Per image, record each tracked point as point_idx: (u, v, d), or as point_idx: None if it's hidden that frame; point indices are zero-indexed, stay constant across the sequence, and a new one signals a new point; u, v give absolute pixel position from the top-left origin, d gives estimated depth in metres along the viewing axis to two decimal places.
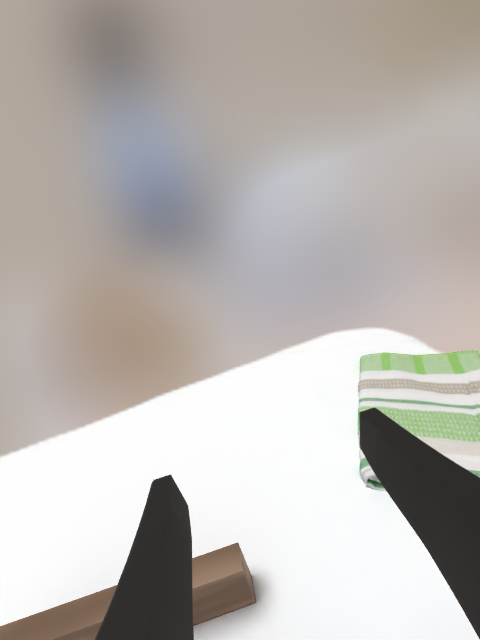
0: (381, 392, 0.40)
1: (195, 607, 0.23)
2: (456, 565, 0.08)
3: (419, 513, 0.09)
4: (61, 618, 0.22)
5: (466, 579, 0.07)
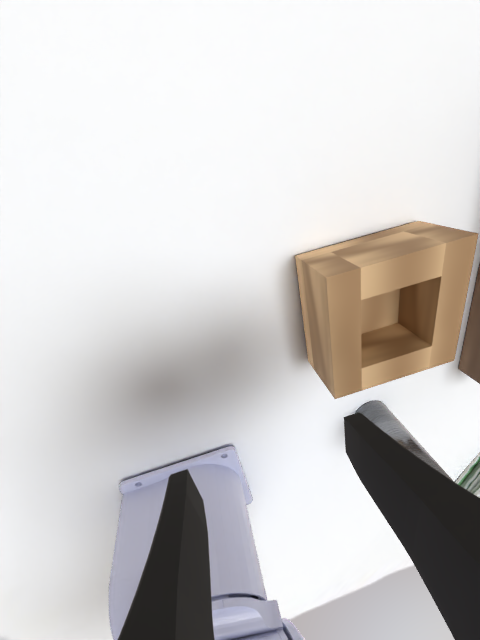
0: None
1: None
2: (436, 573, 0.08)
3: (401, 520, 0.09)
4: None
5: (445, 587, 0.07)
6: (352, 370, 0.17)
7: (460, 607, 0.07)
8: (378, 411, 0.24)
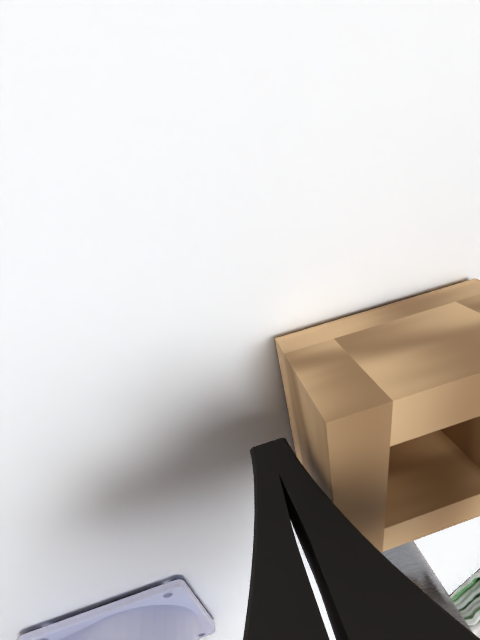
0: None
1: None
2: (330, 613, 0.07)
3: (308, 553, 0.08)
4: None
5: (336, 630, 0.07)
6: (369, 533, 0.10)
7: None
8: None
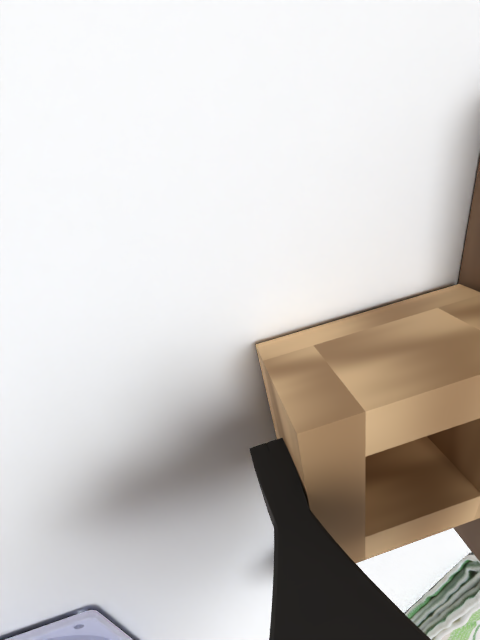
0: None
1: None
2: None
3: None
4: None
5: None
6: (349, 541, 0.10)
7: None
8: None
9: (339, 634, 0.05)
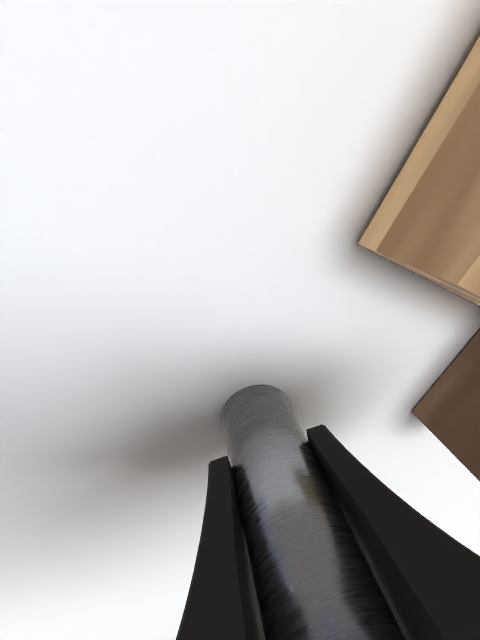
0: None
1: None
2: (385, 592, 0.07)
3: (356, 536, 0.09)
4: None
5: (392, 608, 0.07)
6: None
7: (404, 629, 0.07)
8: (280, 405, 0.11)
9: None
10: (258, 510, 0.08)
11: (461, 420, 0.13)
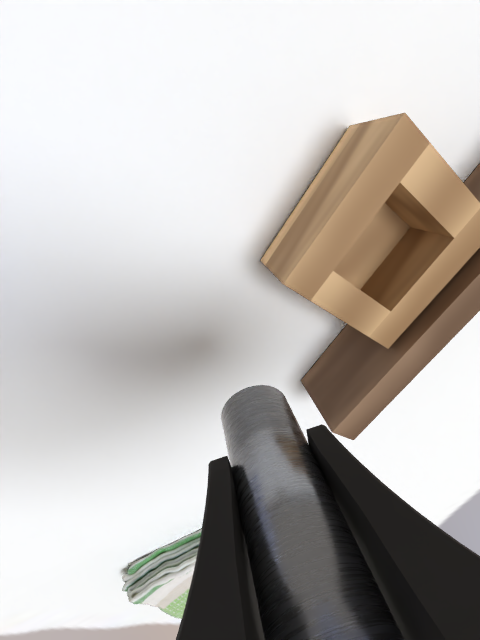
0: None
1: (356, 353, 0.19)
2: (385, 592, 0.07)
3: (356, 536, 0.09)
4: None
5: (392, 607, 0.07)
6: (325, 263, 0.13)
7: (404, 629, 0.07)
8: (280, 405, 0.11)
9: None
10: (257, 510, 0.08)
11: (323, 383, 0.20)
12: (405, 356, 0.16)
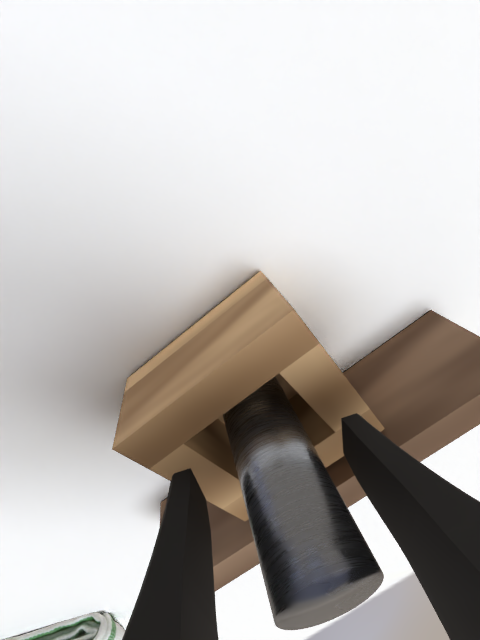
0: None
1: None
2: (432, 574, 0.08)
3: (397, 521, 0.09)
4: None
5: (441, 589, 0.07)
6: (173, 435, 0.11)
7: (456, 609, 0.07)
8: (271, 382, 0.13)
9: None
10: (253, 465, 0.10)
11: None
12: None
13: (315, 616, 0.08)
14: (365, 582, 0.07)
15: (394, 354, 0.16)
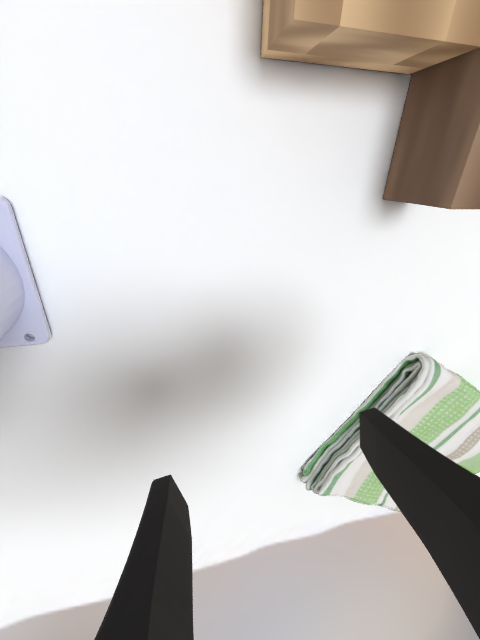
0: (474, 425, 0.30)
1: (439, 103, 0.14)
2: (456, 565, 0.08)
3: (419, 513, 0.09)
4: None
5: (466, 579, 0.07)
6: None
7: None
8: None
9: None
10: None
11: (412, 174, 0.16)
12: None
13: None
14: None
15: None
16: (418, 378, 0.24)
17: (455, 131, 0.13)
